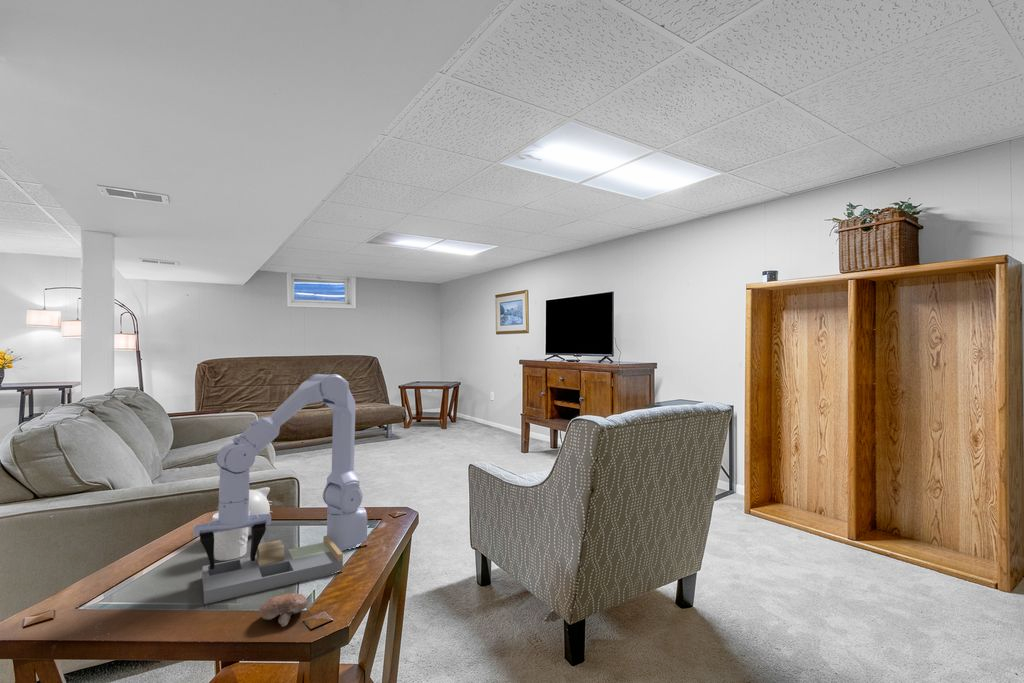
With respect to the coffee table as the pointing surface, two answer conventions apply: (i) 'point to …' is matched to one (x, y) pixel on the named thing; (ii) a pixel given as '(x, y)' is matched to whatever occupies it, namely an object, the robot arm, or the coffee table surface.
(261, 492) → the cat head
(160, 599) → the coffee table surface
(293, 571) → the board
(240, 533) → the white cup
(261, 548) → the maple block
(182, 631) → the coffee table surface
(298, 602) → the mushroom
